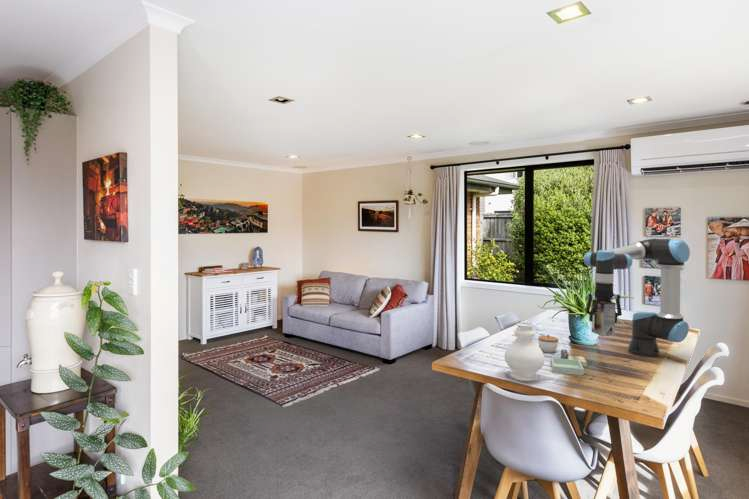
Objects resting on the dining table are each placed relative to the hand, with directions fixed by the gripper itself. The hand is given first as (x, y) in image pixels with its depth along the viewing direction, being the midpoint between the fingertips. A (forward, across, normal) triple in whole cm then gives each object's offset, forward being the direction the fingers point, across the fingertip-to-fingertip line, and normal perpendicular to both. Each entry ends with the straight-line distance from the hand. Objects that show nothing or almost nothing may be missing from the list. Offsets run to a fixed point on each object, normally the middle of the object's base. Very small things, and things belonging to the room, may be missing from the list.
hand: (602, 328), depth 211 cm
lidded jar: (+22, +22, -32) cm, 44 cm away
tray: (+22, +15, 0) cm, 27 cm away
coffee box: (+3, 0, 0) cm, 3 cm away
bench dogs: (+22, +15, -14) cm, 30 cm away
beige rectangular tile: (+22, +9, -14) cm, 28 cm away
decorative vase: (+22, +36, +17) cm, 46 cm away
